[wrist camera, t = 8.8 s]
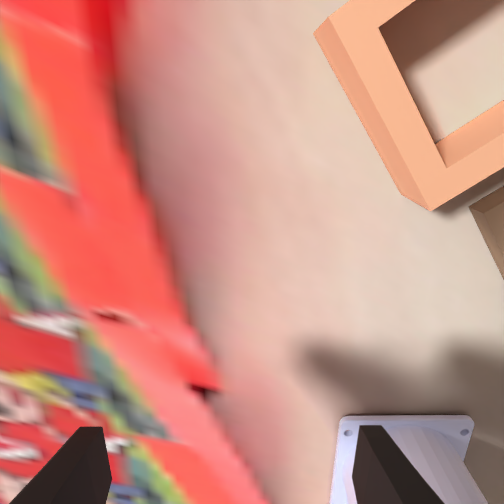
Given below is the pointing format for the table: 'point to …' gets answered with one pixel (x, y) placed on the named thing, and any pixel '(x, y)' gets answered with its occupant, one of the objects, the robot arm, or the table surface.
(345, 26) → the c link
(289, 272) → the table surface
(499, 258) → the stand base
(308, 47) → the table surface
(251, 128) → the table surface
